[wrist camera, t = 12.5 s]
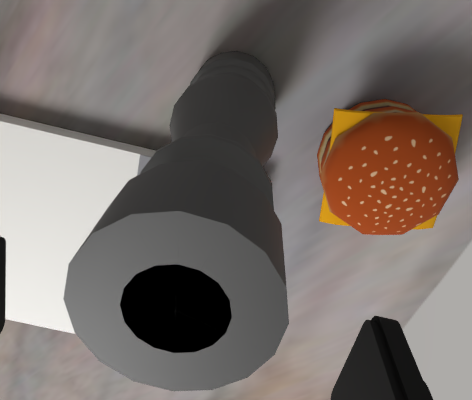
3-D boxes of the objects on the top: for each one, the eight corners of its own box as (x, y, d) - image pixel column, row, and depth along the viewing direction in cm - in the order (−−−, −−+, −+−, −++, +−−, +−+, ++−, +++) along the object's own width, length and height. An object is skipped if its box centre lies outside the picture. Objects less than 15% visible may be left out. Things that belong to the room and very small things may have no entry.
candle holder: (289, 76, 33) (350, 273, 10) (250, 146, 35) (228, 426, 13) (215, 34, 32) (102, 151, 9) (179, 109, 34) (23, 343, 12)
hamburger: (317, 96, 33) (330, 119, 27) (446, 98, 33) (488, 122, 27) (308, 207, 38) (317, 248, 32) (423, 210, 37) (455, 252, 31)
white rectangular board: (-54, 100, 35) (-68, 105, 34) (264, 176, 36) (264, 184, 35) (-43, 296, 44) (-53, 307, 42) (214, 351, 45) (212, 364, 44)
